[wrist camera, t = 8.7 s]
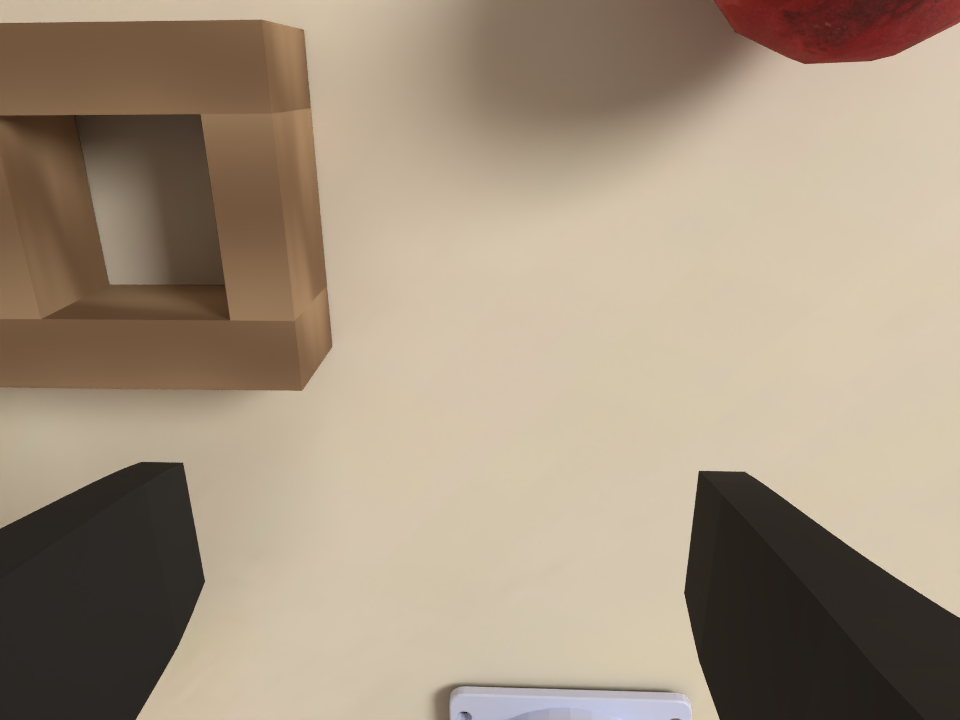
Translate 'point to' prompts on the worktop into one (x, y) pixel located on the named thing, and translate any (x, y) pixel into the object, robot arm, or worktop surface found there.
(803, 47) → the onion
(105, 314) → the hole block
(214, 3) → the worktop surface
